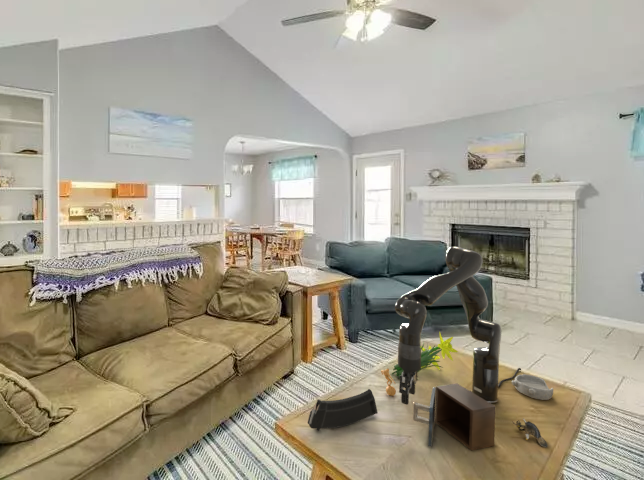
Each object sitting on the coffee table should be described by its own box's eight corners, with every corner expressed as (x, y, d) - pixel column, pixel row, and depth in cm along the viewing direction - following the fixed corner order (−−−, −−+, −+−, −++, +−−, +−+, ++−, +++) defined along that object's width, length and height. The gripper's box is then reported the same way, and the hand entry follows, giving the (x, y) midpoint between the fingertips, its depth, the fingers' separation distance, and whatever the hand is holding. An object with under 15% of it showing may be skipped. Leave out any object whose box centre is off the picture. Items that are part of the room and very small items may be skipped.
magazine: (377, 388, 149) (317, 380, 138) (383, 392, 146) (323, 384, 135) (366, 431, 148) (305, 427, 137) (372, 436, 145) (310, 432, 134)
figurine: (401, 399, 158) (402, 371, 158) (389, 401, 156) (390, 373, 156) (388, 389, 166) (388, 363, 166) (376, 391, 164) (377, 364, 164)
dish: (535, 384, 172) (535, 373, 172) (562, 401, 159) (563, 389, 158) (504, 384, 172) (505, 373, 172) (529, 401, 158) (530, 389, 158)
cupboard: (471, 450, 127) (472, 410, 127) (434, 422, 143) (435, 386, 142) (494, 445, 130) (495, 406, 130) (455, 418, 146) (457, 383, 145)
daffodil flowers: (380, 369, 187) (432, 342, 198) (402, 396, 176) (455, 366, 187) (388, 350, 177) (442, 323, 188) (412, 378, 166) (467, 347, 177)
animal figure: (510, 433, 135) (539, 443, 127) (512, 412, 138) (541, 421, 130) (521, 440, 138) (550, 450, 130) (523, 419, 140) (552, 429, 133)
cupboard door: (411, 440, 132) (412, 402, 132) (416, 417, 146) (417, 382, 145) (431, 446, 129) (432, 407, 128) (434, 422, 142) (435, 387, 142)
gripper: (415, 364, 126) (414, 411, 127) (425, 350, 137) (424, 393, 138) (392, 357, 131) (391, 403, 132) (404, 345, 142) (402, 386, 142)
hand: (408, 398), depth 135 cm, fingers open, 8 cm apart
